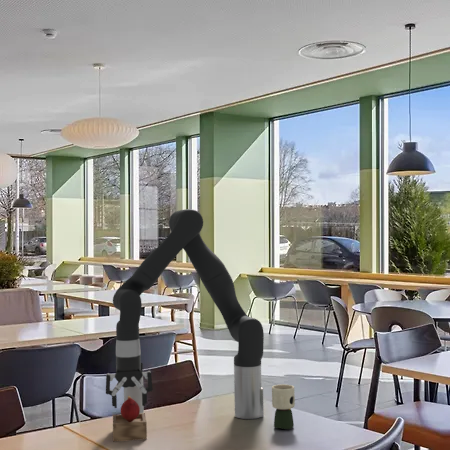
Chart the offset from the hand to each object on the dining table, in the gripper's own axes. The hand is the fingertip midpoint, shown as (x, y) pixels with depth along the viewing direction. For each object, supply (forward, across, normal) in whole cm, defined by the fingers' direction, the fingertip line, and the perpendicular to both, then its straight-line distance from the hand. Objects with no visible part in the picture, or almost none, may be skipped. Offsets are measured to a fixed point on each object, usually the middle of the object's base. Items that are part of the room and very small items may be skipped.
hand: (129, 406), depth 199 cm
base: (+9, 0, 0) cm, 9 cm away
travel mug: (+9, -2, -12) cm, 15 cm away
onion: (+5, 0, 0) cm, 5 cm away
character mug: (+10, -48, +4) cm, 49 cm away
